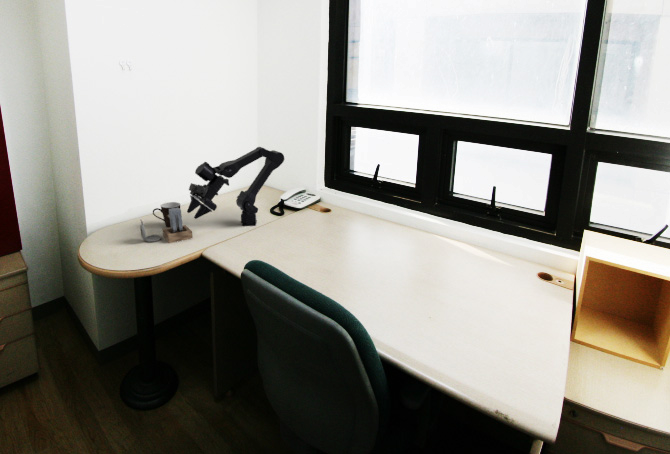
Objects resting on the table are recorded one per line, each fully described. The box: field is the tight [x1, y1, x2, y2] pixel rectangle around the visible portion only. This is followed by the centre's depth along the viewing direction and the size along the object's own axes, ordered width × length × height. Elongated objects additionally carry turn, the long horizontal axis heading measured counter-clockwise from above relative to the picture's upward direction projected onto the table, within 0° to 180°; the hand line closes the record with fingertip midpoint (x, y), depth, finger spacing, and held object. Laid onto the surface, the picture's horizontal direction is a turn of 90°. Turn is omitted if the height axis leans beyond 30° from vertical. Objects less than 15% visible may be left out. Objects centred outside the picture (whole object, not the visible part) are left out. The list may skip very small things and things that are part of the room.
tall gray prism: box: [169, 207, 184, 234], centre depth 193 cm, size 4×4×12 cm
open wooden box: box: [162, 224, 194, 244], centre depth 195 cm, size 10×9×4 cm
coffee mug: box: [152, 201, 181, 228], centre depth 209 cm, size 12×9×10 cm
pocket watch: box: [139, 218, 162, 243], centre depth 191 cm, size 8×8×10 cm
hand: (191, 215), depth 196 cm, fingers open, 9 cm apart
